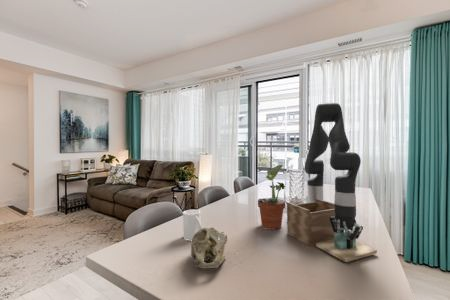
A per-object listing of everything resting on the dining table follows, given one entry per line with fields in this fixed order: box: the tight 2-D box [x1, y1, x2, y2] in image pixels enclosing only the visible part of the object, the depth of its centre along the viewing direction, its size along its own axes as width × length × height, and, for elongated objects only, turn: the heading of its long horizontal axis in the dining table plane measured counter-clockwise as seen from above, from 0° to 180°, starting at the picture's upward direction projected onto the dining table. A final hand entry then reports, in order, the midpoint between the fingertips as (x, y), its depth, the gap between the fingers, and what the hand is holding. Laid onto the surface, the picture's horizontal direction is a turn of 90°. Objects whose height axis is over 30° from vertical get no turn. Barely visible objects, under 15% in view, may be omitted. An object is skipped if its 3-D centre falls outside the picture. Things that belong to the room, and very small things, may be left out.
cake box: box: [286, 199, 337, 246], centre depth 103 cm, size 14×19×15 cm
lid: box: [315, 231, 378, 263], centre depth 87 cm, size 14×16×6 cm
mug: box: [182, 209, 202, 240], centre depth 102 cm, size 12×8×12 cm
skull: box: [190, 226, 228, 269], centre depth 81 cm, size 11×20×15 cm
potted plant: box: [257, 164, 286, 231], centre depth 116 cm, size 16×15×35 cm
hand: (345, 246), depth 87 cm, fingers closed on lid, 3 cm apart
